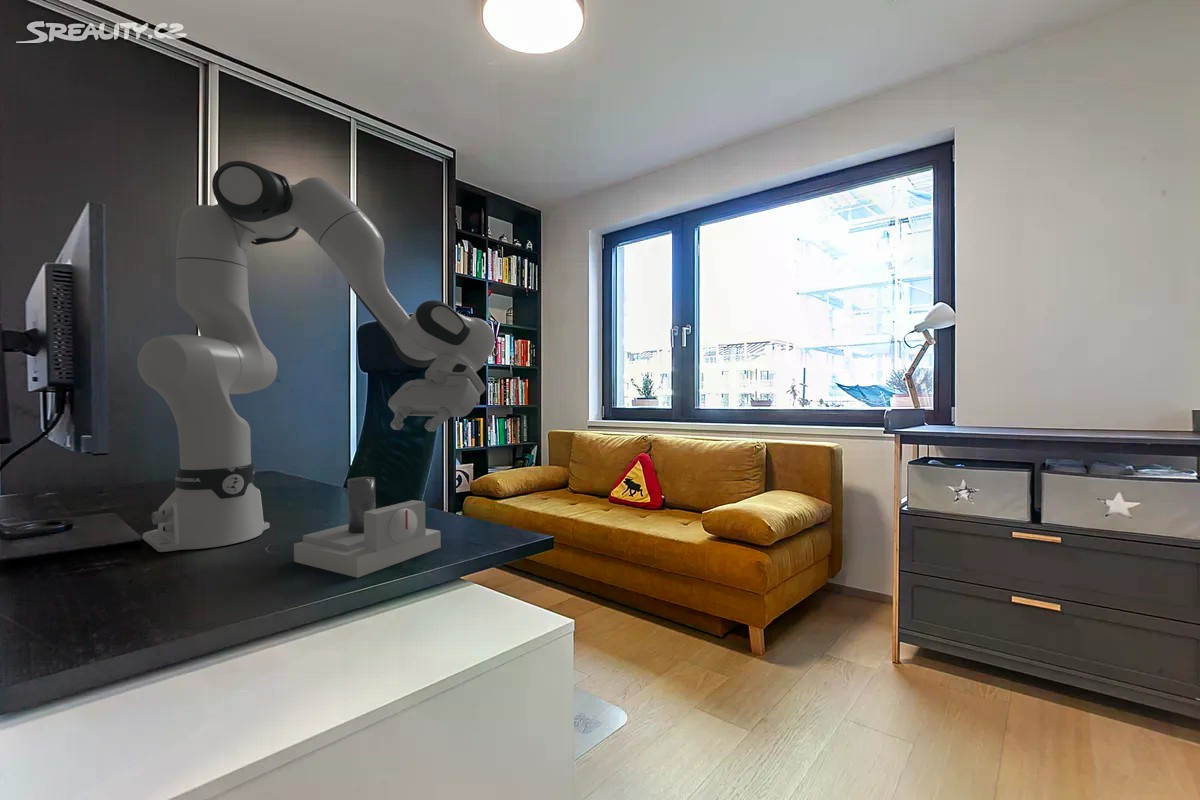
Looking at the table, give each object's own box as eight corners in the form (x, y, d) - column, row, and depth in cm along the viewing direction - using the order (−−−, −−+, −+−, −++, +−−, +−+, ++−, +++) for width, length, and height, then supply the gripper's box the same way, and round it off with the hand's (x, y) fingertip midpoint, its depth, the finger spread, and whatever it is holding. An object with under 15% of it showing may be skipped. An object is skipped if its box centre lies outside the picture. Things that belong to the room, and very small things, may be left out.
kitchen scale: (294, 561, 86) (293, 507, 86) (380, 536, 101) (379, 490, 101) (359, 578, 78) (359, 519, 78) (442, 547, 93) (442, 498, 93)
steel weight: (342, 531, 90) (341, 479, 90) (364, 525, 94) (364, 476, 93) (359, 534, 88) (358, 481, 88) (381, 528, 92) (380, 477, 91)
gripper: (404, 369, 111) (365, 416, 103) (477, 366, 102) (440, 418, 93) (420, 389, 115) (384, 437, 107) (492, 389, 106) (458, 441, 97)
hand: (411, 428), depth 100 cm, fingers open, 8 cm apart
